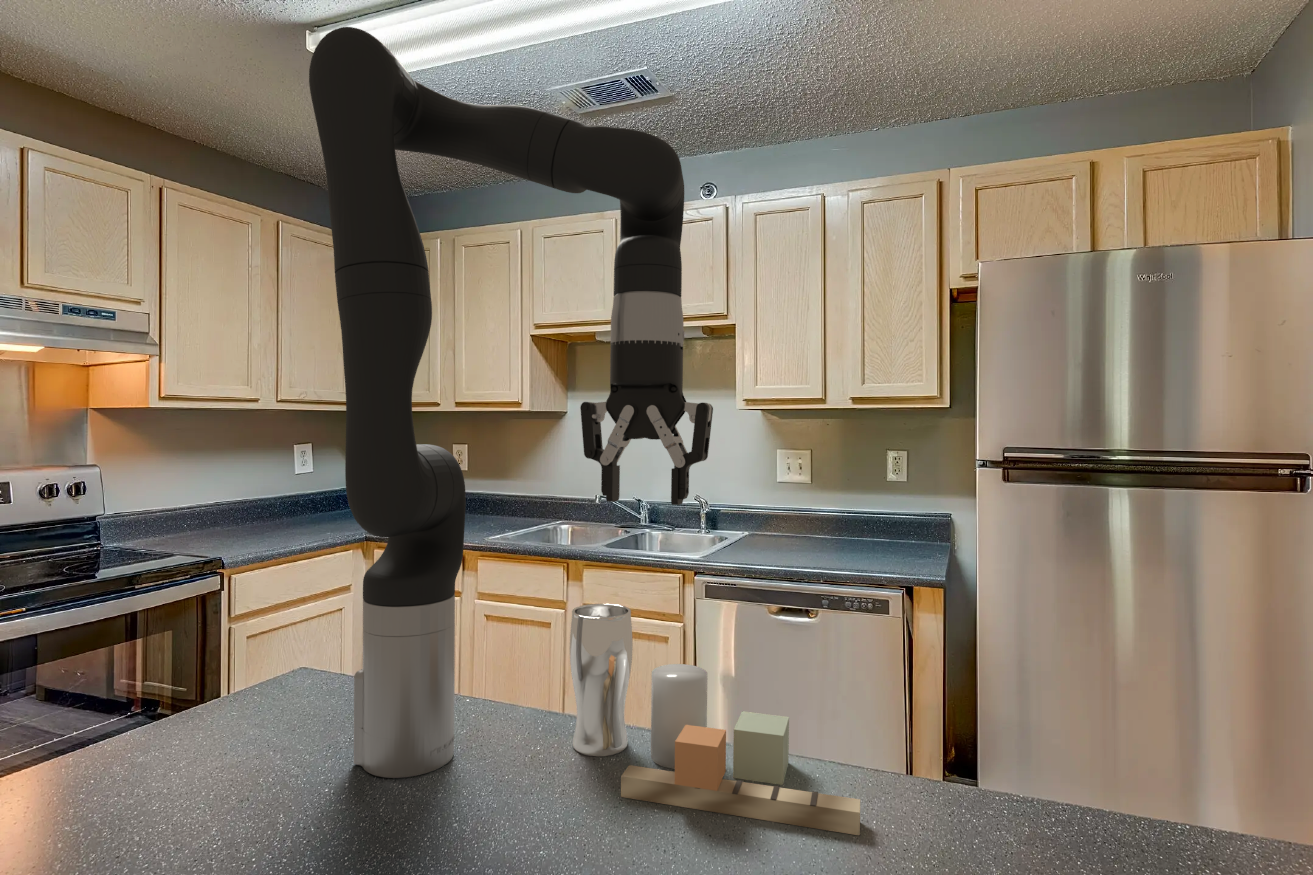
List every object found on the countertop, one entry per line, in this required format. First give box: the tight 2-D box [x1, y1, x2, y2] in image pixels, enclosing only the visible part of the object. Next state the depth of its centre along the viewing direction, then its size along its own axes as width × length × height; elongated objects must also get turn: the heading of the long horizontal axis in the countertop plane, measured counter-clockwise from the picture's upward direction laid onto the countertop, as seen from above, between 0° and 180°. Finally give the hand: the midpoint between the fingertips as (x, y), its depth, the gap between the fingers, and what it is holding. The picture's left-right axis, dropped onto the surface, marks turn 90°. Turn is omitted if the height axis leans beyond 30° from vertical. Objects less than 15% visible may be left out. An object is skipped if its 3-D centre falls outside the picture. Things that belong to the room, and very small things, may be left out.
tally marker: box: [674, 725, 727, 791], centre depth 69 cm, size 4×4×4 cm
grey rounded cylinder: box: [650, 663, 708, 770], centre depth 79 cm, size 6×6×9 cm
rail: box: [620, 764, 861, 836], centre depth 69 cm, size 22×2×2 cm, turn 73°
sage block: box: [732, 710, 790, 786], centre depth 76 cm, size 5×5×5 cm
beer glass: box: [569, 603, 634, 757], centre depth 82 cm, size 7×7×15 cm
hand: (644, 502), depth 76 cm, fingers open, 6 cm apart
